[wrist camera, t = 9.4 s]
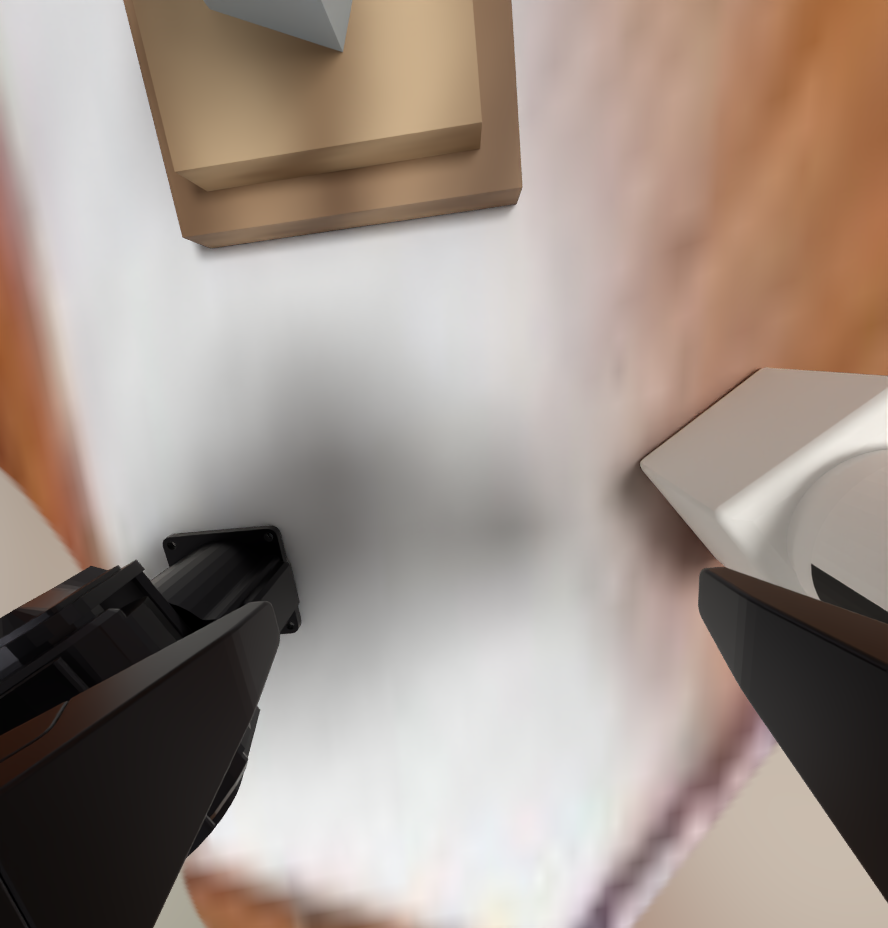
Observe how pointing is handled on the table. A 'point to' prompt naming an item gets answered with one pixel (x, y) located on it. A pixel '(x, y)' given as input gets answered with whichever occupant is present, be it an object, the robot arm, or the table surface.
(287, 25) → the block
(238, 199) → the plinth
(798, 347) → the table surface
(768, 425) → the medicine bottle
